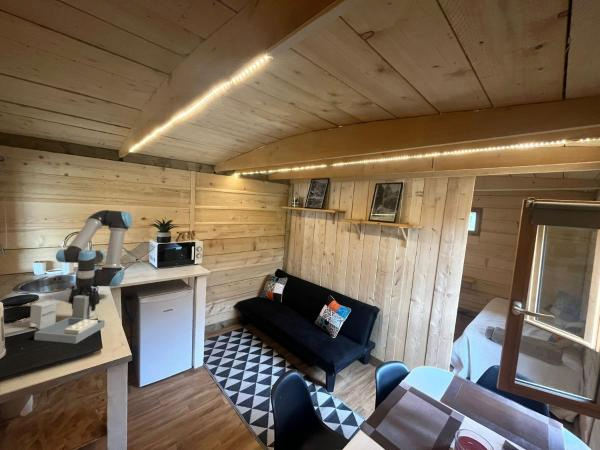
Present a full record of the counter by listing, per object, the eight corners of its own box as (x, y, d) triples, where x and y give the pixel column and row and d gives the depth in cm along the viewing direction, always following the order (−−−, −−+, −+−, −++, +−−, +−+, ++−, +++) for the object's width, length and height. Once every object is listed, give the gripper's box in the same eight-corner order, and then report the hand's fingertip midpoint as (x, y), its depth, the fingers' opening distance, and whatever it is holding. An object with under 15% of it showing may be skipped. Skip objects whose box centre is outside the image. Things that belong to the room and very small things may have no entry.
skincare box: (81, 317, 149) (83, 291, 148) (94, 318, 150) (96, 292, 149) (70, 323, 141) (71, 296, 140) (83, 324, 141) (85, 297, 141)
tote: (68, 325, 139) (68, 317, 139) (104, 328, 139) (104, 320, 139) (34, 341, 121) (34, 332, 121) (75, 345, 121) (76, 336, 121)
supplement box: (39, 329, 132) (41, 306, 131) (29, 327, 133) (30, 304, 133) (55, 324, 139) (57, 301, 138) (45, 321, 140) (47, 299, 140)
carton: (84, 328, 136) (85, 317, 136) (97, 329, 136) (97, 318, 136) (63, 338, 124) (64, 327, 124) (78, 340, 124) (78, 328, 124)
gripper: (60, 276, 140) (58, 316, 141) (99, 280, 141) (96, 319, 141) (72, 273, 148) (70, 311, 149) (109, 277, 148) (106, 314, 149)
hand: (83, 315), depth 145 cm, fingers open, 9 cm apart
